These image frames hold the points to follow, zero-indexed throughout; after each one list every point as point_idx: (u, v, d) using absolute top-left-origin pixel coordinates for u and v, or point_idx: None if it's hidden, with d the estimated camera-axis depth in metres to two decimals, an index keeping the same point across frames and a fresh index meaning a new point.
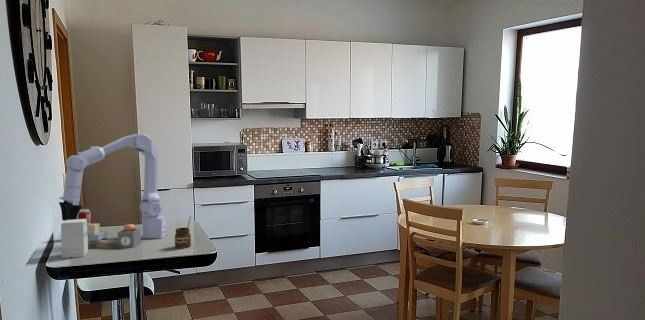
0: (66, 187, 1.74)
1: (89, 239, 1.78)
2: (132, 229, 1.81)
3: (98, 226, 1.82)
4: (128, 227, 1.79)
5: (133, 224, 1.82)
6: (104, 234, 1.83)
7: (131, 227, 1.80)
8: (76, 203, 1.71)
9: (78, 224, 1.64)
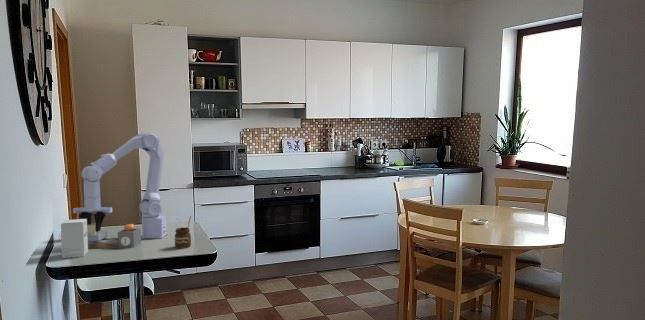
0: (92, 198, 1.78)
1: (89, 239, 1.78)
2: (132, 229, 1.81)
3: None
4: (128, 227, 1.79)
5: (133, 224, 1.82)
6: (104, 234, 1.83)
7: (131, 227, 1.80)
8: (111, 210, 1.81)
9: (78, 224, 1.64)
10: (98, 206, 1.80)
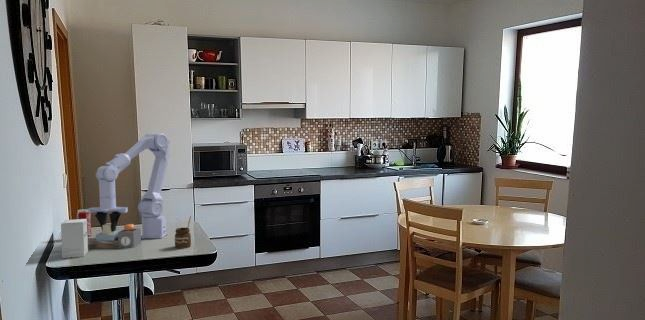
0: (108, 198, 1.78)
1: (105, 239, 1.78)
2: (132, 229, 1.81)
3: None
4: (128, 227, 1.79)
5: (133, 224, 1.82)
6: None
7: (131, 227, 1.80)
8: (126, 210, 1.81)
9: (78, 224, 1.64)
10: (113, 206, 1.80)
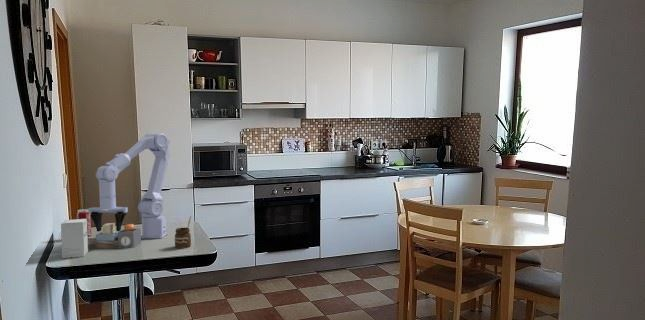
0: (108, 198, 1.78)
1: (105, 239, 1.78)
2: (132, 229, 1.81)
3: (113, 226, 1.82)
4: (128, 227, 1.79)
5: (133, 224, 1.82)
6: None
7: (131, 227, 1.80)
8: (126, 210, 1.81)
9: (78, 224, 1.64)
10: (113, 206, 1.80)
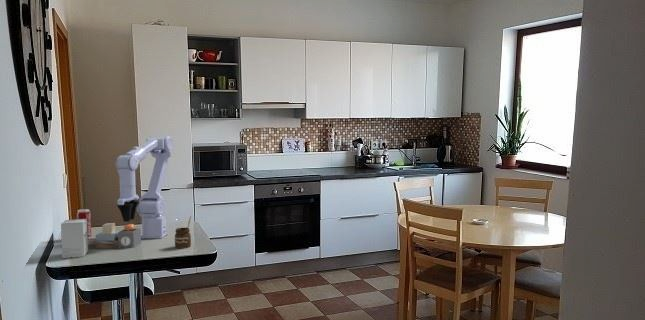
0: (135, 186, 1.82)
1: (105, 239, 1.78)
2: (132, 229, 1.81)
3: (113, 226, 1.82)
4: (128, 227, 1.79)
5: (133, 224, 1.82)
6: None
7: (131, 227, 1.80)
8: None
9: (78, 224, 1.64)
10: None
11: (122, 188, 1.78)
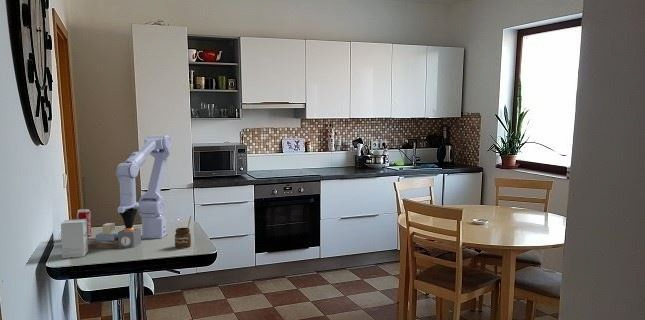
0: (135, 194, 1.82)
1: (105, 239, 1.78)
2: None
3: (113, 226, 1.82)
4: (128, 230, 1.80)
5: (133, 227, 1.82)
6: None
7: (131, 230, 1.80)
8: None
9: (78, 224, 1.64)
10: None
11: (122, 196, 1.78)
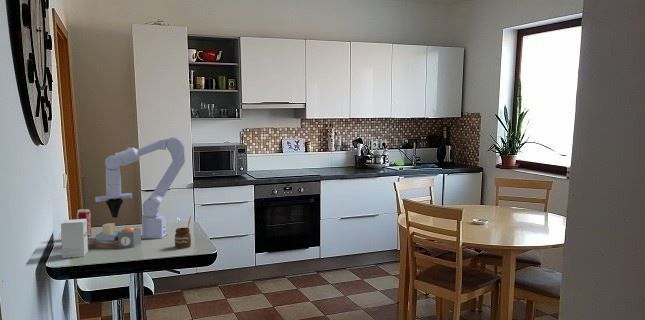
0: (119, 185, 1.90)
1: (105, 239, 1.78)
2: None
3: (113, 226, 1.82)
4: (128, 230, 1.80)
5: None
6: None
7: (131, 230, 1.80)
8: None
9: (78, 224, 1.64)
10: None
11: (106, 186, 1.89)
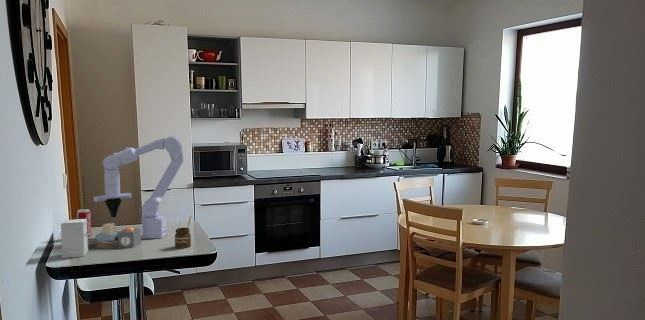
0: (118, 185, 1.90)
1: (105, 239, 1.78)
2: None
3: (113, 226, 1.82)
4: (128, 230, 1.80)
5: None
6: None
7: (131, 230, 1.80)
8: None
9: (78, 224, 1.64)
10: None
11: None
